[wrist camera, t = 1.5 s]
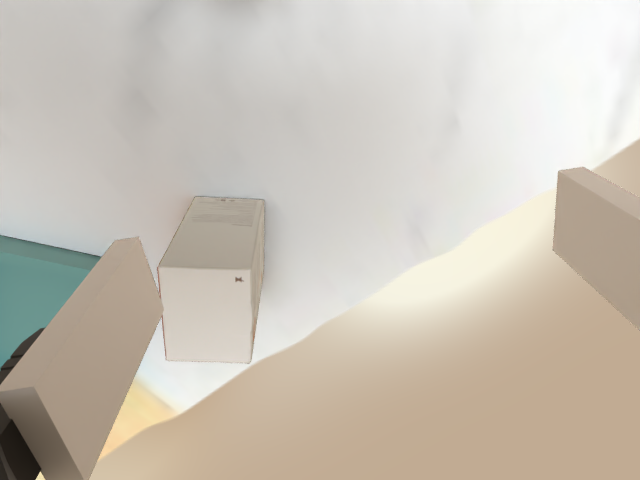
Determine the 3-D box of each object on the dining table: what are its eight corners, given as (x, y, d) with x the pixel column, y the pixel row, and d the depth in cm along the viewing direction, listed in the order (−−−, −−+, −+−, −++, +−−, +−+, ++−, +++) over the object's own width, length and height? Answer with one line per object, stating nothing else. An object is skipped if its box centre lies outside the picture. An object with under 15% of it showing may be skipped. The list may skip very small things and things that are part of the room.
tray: (-20, 366, 50) (-35, 383, 47) (-22, 230, 43) (-41, 243, 41) (119, 390, 52) (111, 408, 50) (136, 264, 45) (127, 278, 43)
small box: (193, 194, 43) (155, 264, 31) (265, 198, 43) (253, 268, 31) (197, 273, 46) (164, 363, 34) (263, 276, 47) (253, 365, 35)
